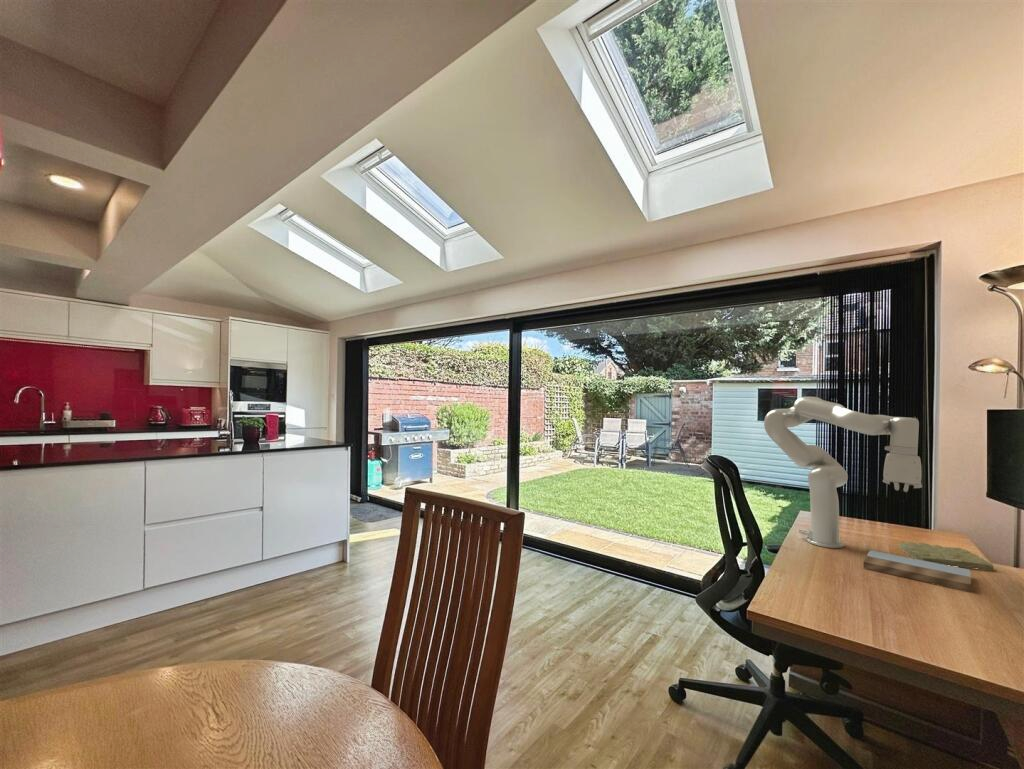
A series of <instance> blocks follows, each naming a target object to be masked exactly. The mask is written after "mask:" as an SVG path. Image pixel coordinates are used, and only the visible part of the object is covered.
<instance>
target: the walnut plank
mask: <svg viewBox="0 0 1024 769" xmlns="http://www.w3.org/2000/svg"><path fill="white" fill-rule="evenodd" d="M864 568H867V569H866V570H869V569H871V570H870V571H873V570H875V571H874V572H878V571H880V572H879V573H882V572H884V573H883V574H887V573H888V574H887V575H891V574H892V576H896V577H900V576H901V577H902V578H905V577H906V579H909V578H911V579H910V580H914V579H916V580H915V581H918V580H921V581H920V582H923V581H926V582H925V583H927V582H930V583H929V584H932V583H934V584H933V585H936V584H939V585H938V586H941V585H942V587H945V586H946V588H950V589H955V590H959V591H964V592H968V593H972V578H971V577H966V576H961V575H956V574H951V573H947V572H942V571H937V570H932V569H927V568H922V567H917V566H913V565H908V564H903V563H898V562H893V561H888V560H884V559H879V558H874V557H869V556H867V555H866V556H865V559H864V560H863V569H864ZM901 577H900V578H901Z"/></svg>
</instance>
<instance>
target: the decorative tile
mask: <svg viewBox="0 0 1024 769" xmlns="http://www.w3.org/2000/svg"><path fill="white" fill-rule="evenodd" d="M898 547H899V548H900V549H902V550H904V551H905V552H907V553H908V554H910V555H912V556H913V557H915V558H916V559H918V560H923V561H928V562H933V563H938V564H943V565H950V566H958V568H959V567H967V568H966V569H969V568H978V569H985V570H984V571H987V570H991V571H990V572H994V565H993V564H992V563H991V562H989V561H988V560H986V559H985V558H984V557H980V556H979V555H977V554H976V553H973V552H971V551H969V550H968V549H964V548H962V547H961V548H960V547H950V546H941V545H937V544H932V545H930V544H929V543H926V542H925V543H924V542H917V543H916V542H913V541H912V542H911V541H906V542H904V541H899V542H898ZM898 547H897V548H898ZM899 548H898V549H899ZM900 549H899V550H900ZM902 550H901V551H902ZM905 552H904V553H905ZM908 554H907V555H908ZM910 555H909V556H910ZM913 557H912V558H913ZM978 569H977V570H978Z"/></svg>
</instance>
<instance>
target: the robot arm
mask: <svg viewBox="0 0 1024 769" xmlns="http://www.w3.org/2000/svg"><path fill="white" fill-rule="evenodd" d="M811 420H816V421H820V422H824V423H828V424H831V425H834V426H837V427H839V428H840V427H841V428H843V429H845V430H849V431H851V432H856V433H859V434H863V435H868V436H880V435H882V436H884V435H889V436H890V438H889V439H890V440H889V445H885V446H884V450H885V451H888V453H886V455H885V459H884V464H883V475H882V476H883V479H882V482H883V483H885V484H888V485H890V486H891V487H892V488H893V489H894V490H895V499H896V500H897V502H898V503H899V502H900V503H905V501H908V500H907V499H908V491H911V490H912V489H921V488H923V485H922V474H923V473H922V471H923V470H922V463H921V462H922V461H921V460H922V459H921V457H920V456H918V452H919V451H918V449H919V431H920V430H919V428H920V422H919V419H917V418H916V417H915V418H914V417H909V416H908V417H905V416H891V415H885V414H869V413H864V412H860V411H855V410H851V409H849V408H846V407H845V406H844V405H842V404H840V403H838V402H837V403H836V402H832V401H828V400H824V399H822V398H821V397H817V396H801V397H799V398H797V399H796V400H795V401H794V403H793V406H792V407H789V408H775V409H772V410H770V411H768V413H766V415H765V417H764V420H763V424H764V425H763V426H764V430H765V432H766V434H767V436H768V437H769V438H770V439H771V440H772V442H774V444H776V445H777V446H778V447H779V448H780V449H781V450H782V451H783V453H785V455H786V456H788V458H790V460H791V461H792V462H793V463H794V464H795V465H796V466H798V467H799V468H803V469H807V468H811V470H810V471H809V473H808V476H807V483H808V487H809V497H810V499H809V500H810V529H804V528H798V533H799V534H800V535H804V536H806V542H808V543H810V544H812V545H815V546H817V547H822V548H823V547H824V548H830V549H841V548H844V547H845V542H843V541H841V540H840V503H839V502H840V501H839V495H838V490H837V488H840V487H842V486H845V484H847V482H848V478H849V475H848V473H847V471H846V470H845V468H844V467H843V466H842V465H841V464H840V463H839V462H838V461H837V460H836V459H835V458H834V457H832V455H831V454H830V453H829V452H827V451H826V450H825V449H824V448H822V447H821V446H818V445H815V444H807V443H806V442H804V441H803V440H802V439H801V438H800V437H799V436H798V435H797V434H796V433H794V432H793V431H791V430H790V429H789V428H795V427H799V426H800V425H803V424H805V423H807V422H809V421H811ZM900 484H904V485H903V486H904V487H903V488H902V489H901V486H900Z"/></svg>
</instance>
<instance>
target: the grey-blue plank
mask: <svg viewBox="0 0 1024 769" xmlns="http://www.w3.org/2000/svg"><path fill="white" fill-rule="evenodd" d="M867 556H869V557H874V558H879V559H884V560H888V561H893V562H898V563H903V564H908V565H913V566H917V567H922V568H927V569H932V570H937V571H942V572H947V573H951V574H956V575H961V576H966V577H971V569H969V568H959V567H953V566H948V565H943V564H938V563H933V562H928V561H923V560H918V559H914V558H913V557H908V556H902V555H897V554H893V553H886V552H882V551H878V550H872V549H870V550H869V551H868V553H867V555H866V557H867Z"/></svg>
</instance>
